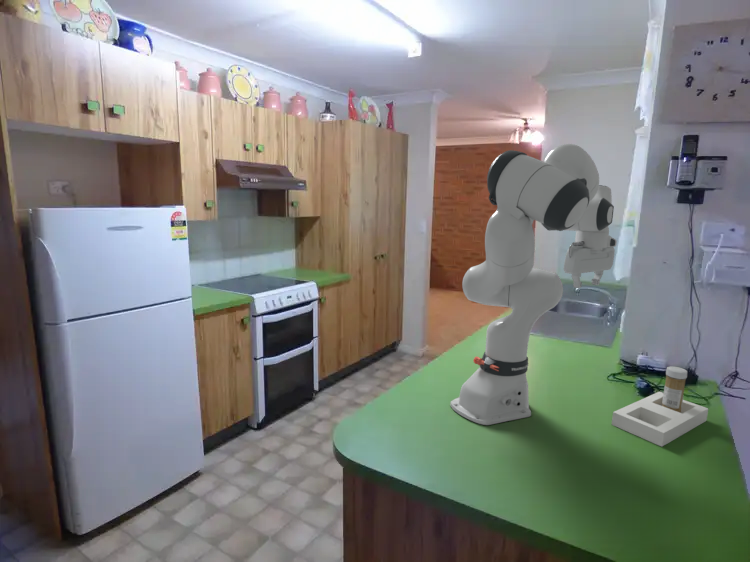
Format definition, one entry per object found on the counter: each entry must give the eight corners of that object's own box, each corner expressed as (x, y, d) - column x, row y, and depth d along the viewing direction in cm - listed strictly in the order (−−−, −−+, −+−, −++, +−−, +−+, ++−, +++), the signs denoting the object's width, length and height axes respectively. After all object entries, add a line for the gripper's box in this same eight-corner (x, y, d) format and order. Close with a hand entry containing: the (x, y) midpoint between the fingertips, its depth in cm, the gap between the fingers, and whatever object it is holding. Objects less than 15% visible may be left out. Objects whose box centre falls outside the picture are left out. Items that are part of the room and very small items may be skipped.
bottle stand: (661, 446, 103) (663, 433, 102) (611, 424, 113) (613, 411, 112) (706, 420, 116) (708, 408, 115) (657, 402, 125) (659, 391, 125)
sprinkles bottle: (683, 417, 117) (690, 370, 115) (675, 422, 115) (683, 373, 112) (664, 410, 121) (671, 364, 118) (656, 414, 118) (663, 367, 116)
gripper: (580, 243, 123) (575, 291, 125) (620, 240, 134) (614, 284, 136) (560, 241, 128) (556, 287, 130) (600, 238, 139) (595, 281, 141)
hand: (586, 286), depth 133 cm, fingers open, 8 cm apart
